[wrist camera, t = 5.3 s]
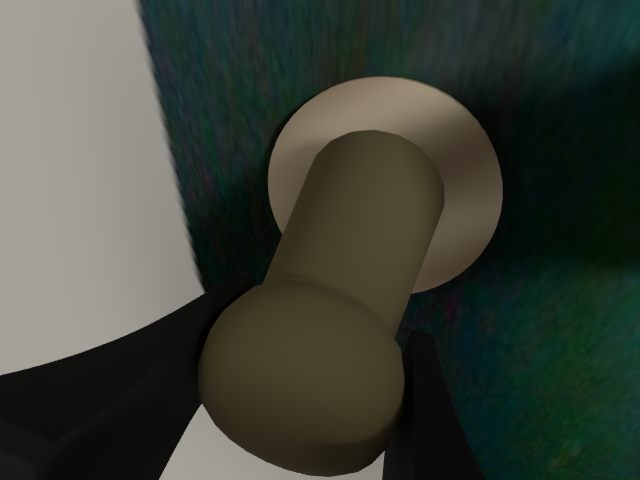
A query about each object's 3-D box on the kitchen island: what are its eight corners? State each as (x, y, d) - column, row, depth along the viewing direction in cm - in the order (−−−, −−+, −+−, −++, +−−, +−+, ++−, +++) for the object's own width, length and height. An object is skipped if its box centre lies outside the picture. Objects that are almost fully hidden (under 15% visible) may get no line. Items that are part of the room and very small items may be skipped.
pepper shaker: (428, 112, 14) (365, 355, 6) (456, 245, 17) (441, 533, 9) (286, 147, 17) (103, 351, 9) (331, 258, 20) (229, 489, 11)
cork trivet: (554, 212, 19) (558, 219, 18) (371, 316, 25) (369, 325, 25) (387, 12, 17) (384, 12, 16) (234, 182, 23) (228, 187, 23)
